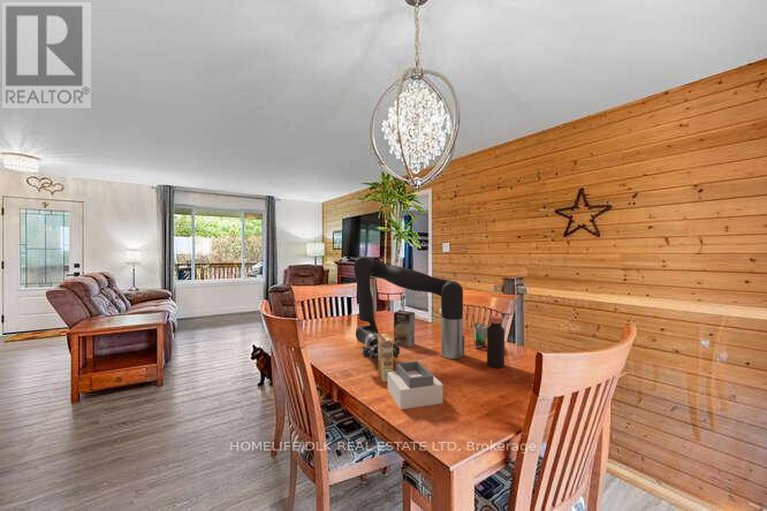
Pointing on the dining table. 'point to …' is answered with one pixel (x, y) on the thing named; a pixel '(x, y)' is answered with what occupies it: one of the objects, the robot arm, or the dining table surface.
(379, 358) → the candy box
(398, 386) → the stand
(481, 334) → the food container
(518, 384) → the dining table surface
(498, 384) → the dining table surface
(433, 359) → the dining table surface
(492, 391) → the dining table surface
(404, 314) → the coffee box
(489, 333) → the bottle
